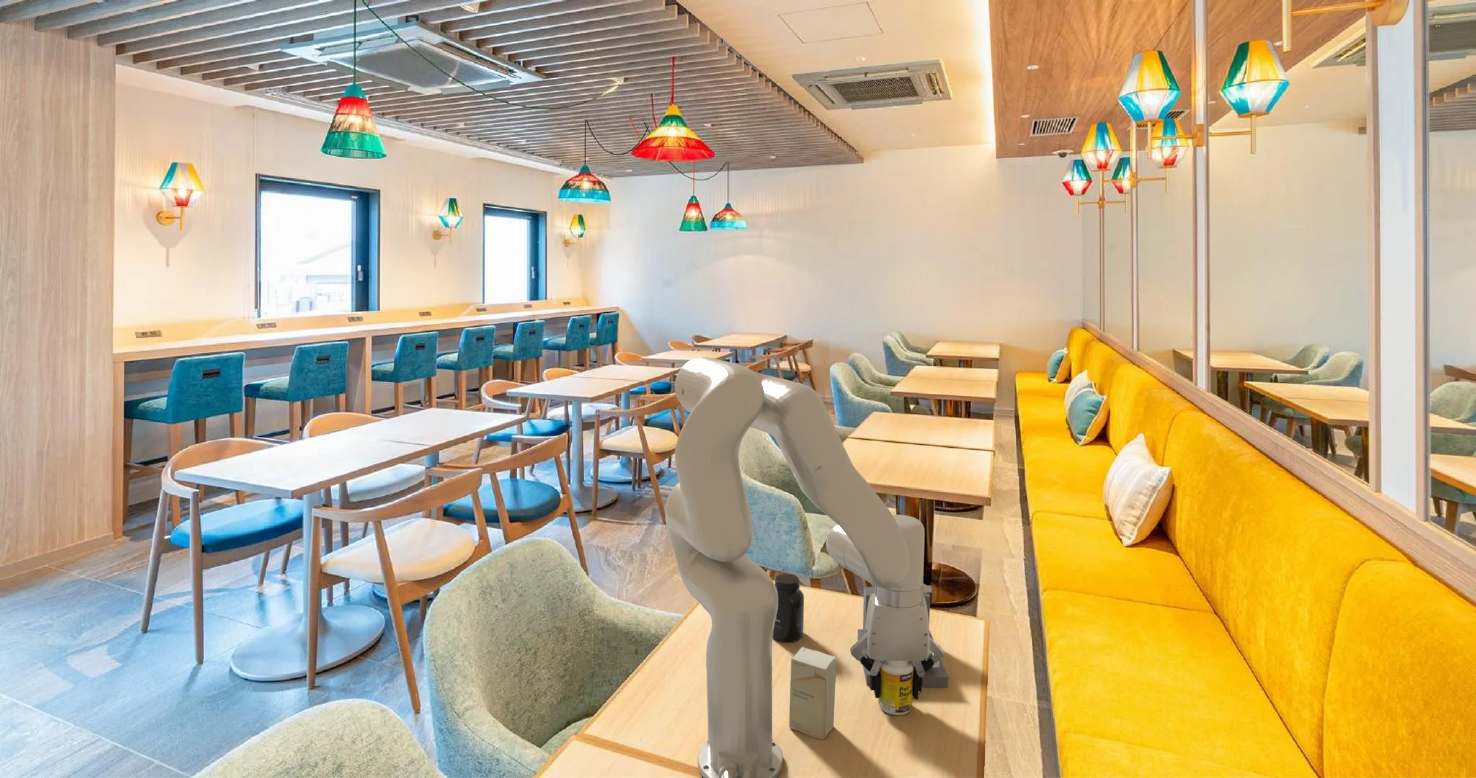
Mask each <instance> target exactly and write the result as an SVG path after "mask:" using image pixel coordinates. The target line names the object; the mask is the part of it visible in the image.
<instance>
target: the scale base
mask: <svg viewBox="0 0 1476 778" xmlns="http://www.w3.org/2000/svg"><path fill="white" fill-rule="evenodd" d="M874 593H875V586H864V587H863V613H862V614H863V615H862V616H863V617H862V628H861V629H859V628H858V629H857V641H858V640H859V639H860V638H861V637H862V636H863V635H864V634H865V625H866V615H867V608H868V603H869V599H870V596H871V595H872V594H874ZM924 598H925V600H926V605H927V610H928V619H929V620H930V613H931V610H930V609H931V608H930V607H931V594H927V595H925V596H924ZM929 636H930V638H931V639H932V640H933V641H934V638H933V636H932V632H931V630H929ZM934 642H935V641H934ZM862 652H863V653H864V654H866V655H867V656H868V653H867V647H866V648H865V649H864V650H863V651H862ZM868 657H869V656H868ZM869 658H870V657H869ZM862 667H863V673H864V678H865V683H866V686H870V672H869V671H868V670H867V669H866V668H865V667H864V666H863V665H862ZM922 688H947V689H948V688H949V676H948V673H947V670H946V667H945V665H944V663H943V660H942V659H940V660H939V667H931V668H930V669H929V670H928V671H927V672H925V676H924V677H922Z"/></svg>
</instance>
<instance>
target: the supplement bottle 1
mask: <svg viewBox="0 0 1476 778" xmlns="http://www.w3.org/2000/svg"><path fill="white" fill-rule="evenodd" d="M774 585H775V587H776V590H777V594H778V609H777V614H776V619H775V624H774V630H773V639H774V640H775V641H778V642H781V643H793V642H797V641H799V640H800V639H801V638H802V637H803V635H804V623H805V622H804V621H805V619H804V618H805V617H804V615H805V614H804V613H805V612H804V611H805V596H804V593H803V590H801V589H800V578H799V576H797V575H796V574H791V573H781V574H778V575H776V576H775V578H774Z"/></svg>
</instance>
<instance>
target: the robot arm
mask: <svg viewBox="0 0 1476 778" xmlns="http://www.w3.org/2000/svg"><path fill="white" fill-rule="evenodd" d="M674 392H675V396H676V398H677V401H678V402H679V403H680V405H681V406H682V407H683V409H685V410H686V411H687V412H690V413H689V415H688V416H687V418H686V419H685V422H684V423H683V426H682V428H681V429H680V432H679V435H678V437H677V440H676V443H675V449H674V461H675V470H676V474H677V478H678V483H677V484H675V486H673V488H672V490H671V491H670V493H669V494H668V497H667V499H666V503H665V508H664V509H665V510H664V514H665V515H664V518H665V524H666V527H667V532H668V535H669V539H670V543H671V546H672V551H673V554H674V558H675V561H676V564H677V565H676V566H677V569H678V571H679V575H680V578H681V581H682V583H683V584H684V587H685V588H686V590H687V591H688V593H689V594H690V595H691V596H692V597H693V598H694V599H695V601H697V602H698V603H699V604H700V605H701V606H702V608H703V609H704V610H705V611H706V612H707V613H708V614H709V616H710V618H711V630H710V633H709V636H708V640H707V641H706V643H707V644H706V648H705V649H706V651H705V653H706V655H705V662H706V664H705V665H706V694H707V695H706V700H707V703H706V705H707V706H706V708H707V740H706V741H704V743H703V744H702V745H701V747H700V749H699V750H698V754H697V755H698V756H697V767H698V771H699V772H700V775H701V777H703V778H779V775H780V774H781V772H782V768H783V760H784V757H783V751H782V748H781V746H779V744H778V743H777V742H776V740H774V739H773V639H774V638H773V630H774V624H775V619H776V614H777V609H778V594H777V590H776V587H775V582H774V581H773V579H772V578H771V577H770V575H769V574H768V573H767V571H765V569H763V568H762V567H761V566H760V565H758V564H757V563H755V561H754V560H752V559H750V557H748V556H746V554H747V552H748V551H749V549H750V548H751V545H752V543H753V538H754V522H753V517H752V513H751V509H750V505H749V502H748V498H747V497H748V496H747V494H746V490H745V485H744V481H743V476H742V471H741V467H740V460H739V454H740V453H739V452H740V447H741V445H742V444H741V443H742V442H743V439H744V437H745V436H746V434H747V432H748V430H749V429H756V430H759V431H761V432H764V433H767V434H769V435H770V436H772V437H773V439H774V440H775V441H776V444H777V445H778V447H779V449H780V451H781V453H782V454H783V457H784V459H785V460H786V463H787V465H788V467H789V469H790V470H791V472H792V475H793V477H794V478H795V481H796V482H797V485H798V487H799V488H800V490H801V492H802V493H803V494H804V495H805V496H806V497H807V499H808V500H809V501H811V503H812V504H813V505H814V506H815V507H816V508H818V509H819V510H820V511H821V512H822V513H824V514H825V515H826V516H827V517H828V518H830V519H831V520H832V521H833V522H834V523H835V524H836V525H834V526H832V528H831V529H830V530H829V532H828V533H827V536H826V541H825V547H826V551H827V553H828V555H829V556H830V558H831V559H832V560H833V561H834V562H836V563H837V564H838V565H840V566H841V567H843V568H845V570H847V571H849V572H851V573H853V574H855V575H857V576H858V577H860V579H861V578H862V579H863V581H864V580H865V581H867V583H870V584H871V586H873V587H875V593H874V594H872V595H871V596H870V599H869V603H868V608H867V615H866V625H865V634H864V635H863V636H862V637H861V638H860V639H859V640H858V639H857V640H856V642H855V643H853V645H852V646H851V647H850V654H851V656H852V657H853V658H854V659H856V660H857V661H858V662H859V663H860V664H861V665H862V667H863V666H864V667H865V668H866V669H867V670H868V671H869V672H870V685H869V689H870V691H873V692H874V697H875V699H878V698H879V697H880V681H881V677H880V673H879V669H880V666H881V664H882V661H913V663H914V671H913V697H912V699H914V700H919V692H920V693H921V692H922V691H923V687H922V677H924V676H925V672H927V671H928V670H929V669H930V668H931V667H933V665H934V663H937V662H938V661H939V660H940V659H941V660H942V659H943V658H944V657H945V654H944V650H942V648H941V647H940V646H939V644H937V643H936V641H933V640H934V639H933V640H932V639H931V638H930V636H929V631H930V618H929V619H928V610H927V605H926V600H925V598H924V596H925V595H927V594H929V595H931V594H932V592H933V588H932V585H927V584H925V583H924V566H925V565H924V561H925V559H924V558H925V527H924V524H923V523H922V521H920V520H919V519H917V518H916V517H914V516H909V515H905V514H904V515H903V514H892V512H891V511H890V509H889V508H888V507H887V505H886V503H885V502H884V501H883V499H881V498H880V497H879V495H878V493H876V492H875V490H874V489H873V488H872V486H870V484H869V483H868V482H867V480H866V479H865V478H864V476H862V474H861V473H860V472H859V471H858V470H857V468H856V467H855V465H854V463H852V461H851V459H850V457H849V454H848V452H847V450H846V448H845V445H844V444H843V442H842V439H841V438H840V435H839V433H838V431H837V428H836V426H835V425H834V421H833V420H832V417H831V415H830V413H829V411H828V409H827V407H826V405H825V403H824V401H823V399H822V398H821V396H820V395H819V393H818V392H817V391H816V390H815V389H814V388H812V387H811V386H809V385H806V384H804V383H800V382H796V381H792V380H789V379H785V378H781V377H777V376H772V375H768V374H764V373H759V372H756V371H754V370H751V369H750V368H748V367H746V366H744V365H740V364H738V363H734V362H730V361H727V360H722V359H718V358H715V357H708V356H700V357H696V358H693V359H690V360H689V361H687V362H686V363H684V364H683V365H682V366H681V368H680V369H679V371H678V372H677V375H676V377H675V382H674ZM866 647H867V653H868V656H869V657H870V658H869V657H868V656H867V655H866V654H864V653H863V652H862V651H863V650H864V649H865V648H866ZM930 650H931V651H932V652H931V653H930ZM929 653H930V655H929Z"/></svg>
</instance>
